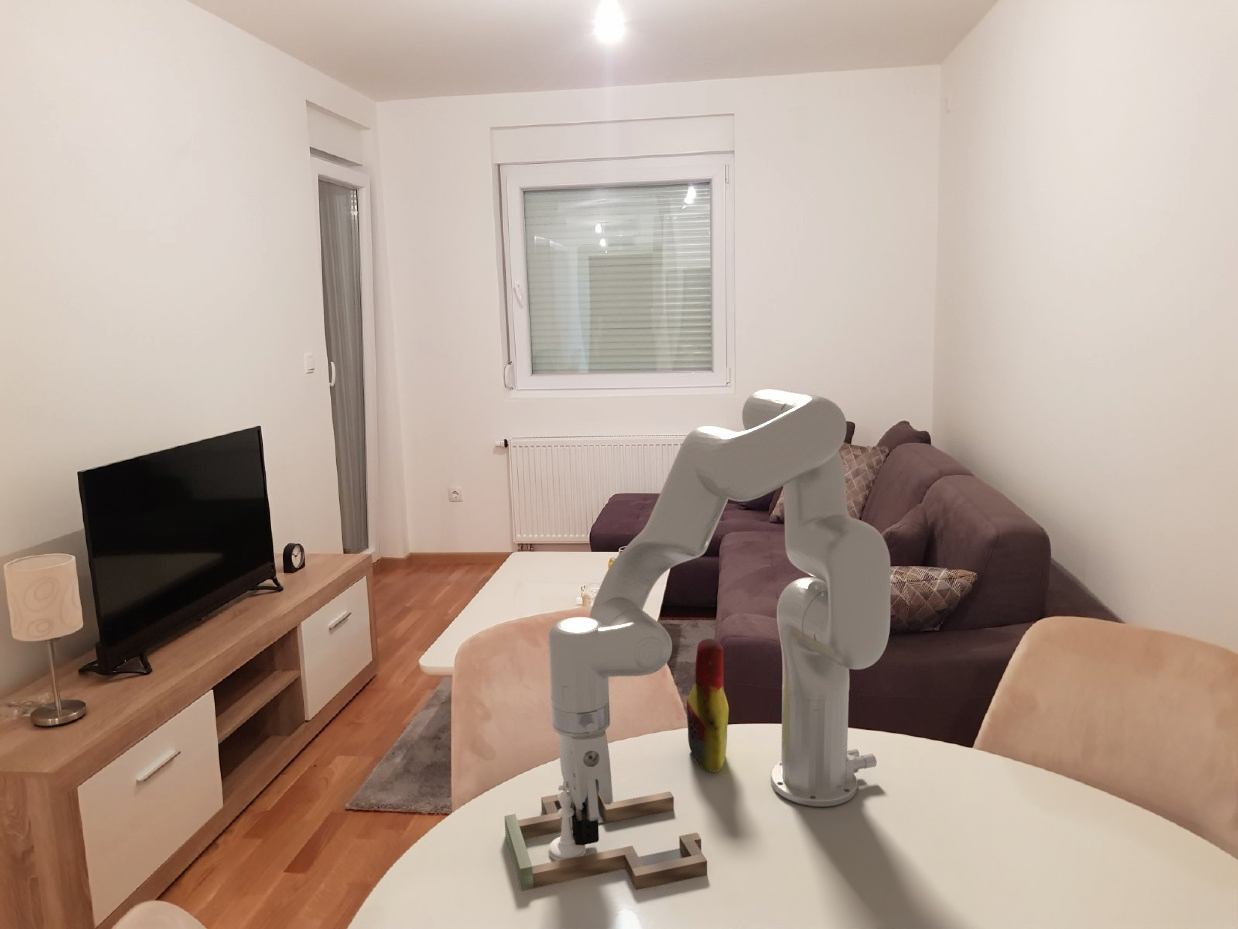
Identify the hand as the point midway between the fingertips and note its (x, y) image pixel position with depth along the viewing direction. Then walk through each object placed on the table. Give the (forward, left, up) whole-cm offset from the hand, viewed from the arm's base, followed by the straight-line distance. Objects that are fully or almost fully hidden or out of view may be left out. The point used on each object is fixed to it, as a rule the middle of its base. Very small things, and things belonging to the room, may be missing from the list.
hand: (585, 840), depth 118 cm
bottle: (-24, -16, -1) cm, 29 cm away
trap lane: (-2, 0, -1) cm, 2 cm away
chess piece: (+3, 0, -1) cm, 3 cm away
